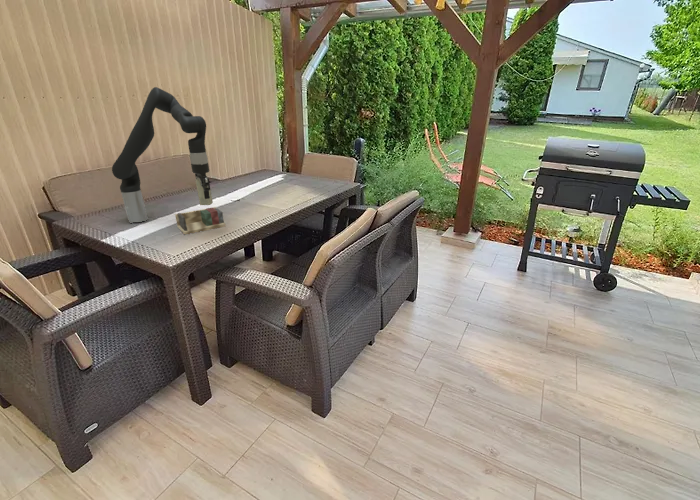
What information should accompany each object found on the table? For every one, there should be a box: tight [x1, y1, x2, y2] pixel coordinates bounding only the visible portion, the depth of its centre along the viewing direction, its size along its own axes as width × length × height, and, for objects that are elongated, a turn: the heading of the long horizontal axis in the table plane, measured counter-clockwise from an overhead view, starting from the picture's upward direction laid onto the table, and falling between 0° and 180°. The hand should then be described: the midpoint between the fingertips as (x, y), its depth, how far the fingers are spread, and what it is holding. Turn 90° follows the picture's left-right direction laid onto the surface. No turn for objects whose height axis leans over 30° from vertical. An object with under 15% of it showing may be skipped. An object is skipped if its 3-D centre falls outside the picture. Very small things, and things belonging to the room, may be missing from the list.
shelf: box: [174, 206, 227, 235], centre depth 184 cm, size 21×13×8 cm, turn 128°
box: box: [194, 176, 214, 206], centre depth 168 cm, size 5×4×13 cm
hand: (205, 196), depth 169 cm, fingers closed on box, 6 cm apart
